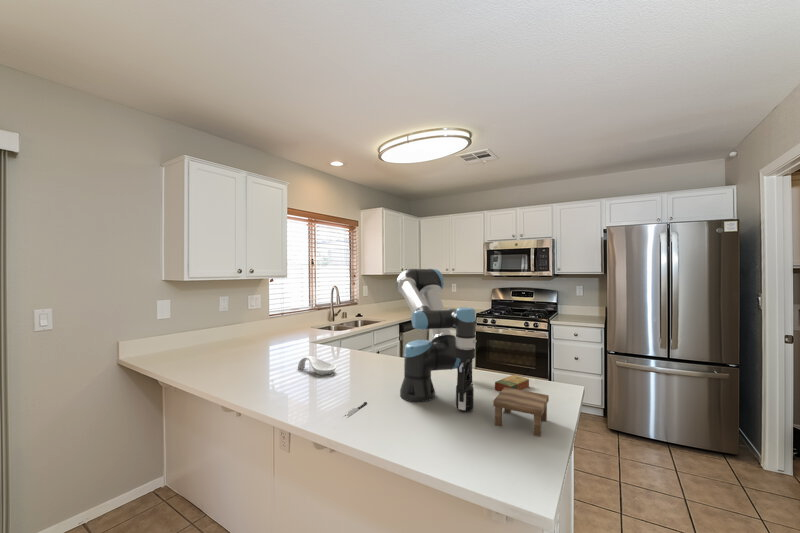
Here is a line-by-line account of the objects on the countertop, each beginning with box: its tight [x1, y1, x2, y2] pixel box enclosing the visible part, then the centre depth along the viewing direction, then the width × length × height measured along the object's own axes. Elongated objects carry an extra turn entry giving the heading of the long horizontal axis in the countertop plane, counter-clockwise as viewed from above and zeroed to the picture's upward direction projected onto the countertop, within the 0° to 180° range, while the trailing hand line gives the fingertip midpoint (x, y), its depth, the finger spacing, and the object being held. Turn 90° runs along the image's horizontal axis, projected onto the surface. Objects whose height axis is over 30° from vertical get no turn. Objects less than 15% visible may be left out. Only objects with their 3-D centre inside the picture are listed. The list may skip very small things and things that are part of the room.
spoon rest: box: [297, 355, 337, 376], centre depth 184 cm, size 24×12×7 cm, turn 59°
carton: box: [494, 374, 530, 393], centre depth 160 cm, size 8×16×4 cm, turn 131°
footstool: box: [492, 387, 550, 437], centre depth 125 cm, size 16×16×9 cm
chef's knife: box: [347, 401, 368, 417], centre depth 133 cm, size 19×1×3 cm
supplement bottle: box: [455, 377, 475, 413], centre depth 136 cm, size 7×7×12 cm
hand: (464, 405), depth 136 cm, fingers closed on supplement bottle, 7 cm apart
